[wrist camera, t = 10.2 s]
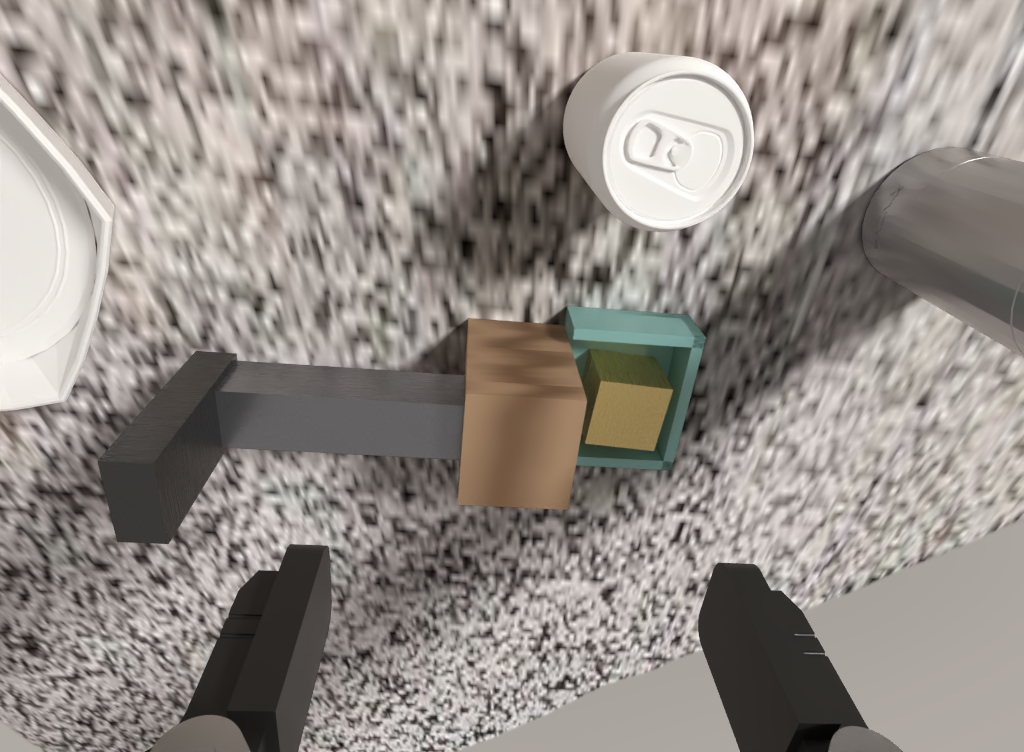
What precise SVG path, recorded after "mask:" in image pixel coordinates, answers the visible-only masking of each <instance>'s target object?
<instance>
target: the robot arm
mask: <svg viewBox="0 0 1024 752" xmlns="http://www.w3.org/2000/svg"><path fill="white" fill-rule="evenodd" d="M862 242H863V248H864V252H865V254H866V256H867V258H868V260H869V262H870V263H871V264H872V266H873V267H874V268H875V269H876V270H877V271H878V272H880V273H882V274H883V275H885V276H886V277H888V278H890V279H891V280H893V281H895V282H896V283H898V284H900V285H902V286H903V287H905V288H907V289H908V290H910V291H912V292H913V293H915V294H916V295H918V296H920V297H921V298H923V299H925V300H926V301H928V302H930V303H932V304H933V305H935V306H937V307H938V308H940V309H942V310H944V311H945V312H947V313H949V314H950V315H952V316H954V317H955V318H957V319H959V320H961V321H962V322H964V323H966V324H967V325H969V326H971V327H973V328H974V329H976V330H978V331H979V332H981V333H983V334H984V335H986V336H988V337H990V338H991V339H993V340H995V341H996V342H998V343H1000V344H1002V345H1003V346H1005V347H1007V348H1008V349H1010V350H1012V351H1014V352H1015V353H1017V354H1019V355H1020V356H1022V357H1024V162H1020V161H1015V160H1011V159H1008V158H1004V157H999V156H995V155H990V154H986V153H982V152H977V151H973V150H969V149H964V148H955V147H947V148H938V149H934V150H931V151H928V152H924V153H921V154H919V155H917V156H916V157H914V158H912V159H910V160H908V161H906V162H905V163H904V164H902V165H901V166H900V167H899V168H897V169H896V170H895V171H893V172H892V173H891V174H890V176H889V177H888V178H887V179H886V180H885V181H884V182H883V183H882V184H881V185H880V187H879V188H878V190H877V191H876V193H875V194H874V196H873V197H872V199H871V202H870V204H869V206H868V208H867V210H866V213H865V217H864V221H863V225H862ZM331 604H332V598H331V576H330V554H329V547H328V546H320V545H295V544H290V545H289V546H288V548H287V550H286V553H285V556H284V558H283V561H282V564H281V566H280V569H279V571H260V570H259V571H258V572H257V573H256V574H255V575H254V576H253V577H252V578H251V579H250V580H249V581H248V582H247V583H246V584H245V585H244V586H243V587H242V588H241V589H240V590H239V591H238V593H237V596H236V598H235V600H234V603H233V605H232V607H231V610H230V612H229V617H228V618H227V619H226V621H225V624H224V626H223V628H222V630H221V633H220V638H218V640H217V642H216V644H215V647H214V649H213V651H212V654H211V656H210V658H209V661H208V663H207V665H206V667H205V670H204V672H203V674H202V677H201V679H200V681H199V684H198V686H197V688H196V691H195V693H194V695H193V698H192V700H191V702H190V704H189V707H188V709H187V711H186V713H185V715H184V717H183V718H182V720H181V721H180V723H179V724H178V725H176V726H175V727H173V728H172V729H170V730H169V731H168V732H166V733H165V734H164V735H163V736H162V737H161V738H160V739H159V740H158V741H157V742H156V744H155V745H154V746H153V747H152V748H150V749H149V750H147V751H145V752H298V749H299V745H300V741H301V737H302V733H303V729H304V725H305V721H306V717H307V713H308V709H309V706H310V702H311V698H312V694H313V690H314V686H315V682H316V678H317V674H318V670H319V666H320V662H321V658H322V654H323V650H324V646H325V642H326V638H327V634H328V630H329V624H330V617H331ZM698 631H699V638H700V643H701V646H702V649H703V651H704V654H705V657H706V660H707V662H708V665H709V668H710V670H711V673H712V676H713V678H714V681H715V684H716V686H717V689H718V692H719V695H720V698H721V700H722V703H723V706H724V708H725V711H726V714H727V717H728V719H729V722H730V725H731V728H732V730H733V733H734V736H735V738H736V741H737V744H738V747H739V749H740V752H903V751H902V750H901V749H900V748H899V747H897V746H896V745H895V744H894V743H893V742H891V741H890V740H889V739H887V738H886V737H884V736H882V735H881V734H879V733H877V732H875V731H873V730H870V729H869V728H868V727H867V725H866V724H865V722H864V720H863V718H862V717H861V715H860V713H859V711H858V709H857V708H856V706H855V704H854V702H853V701H852V699H851V697H850V695H849V694H848V692H847V690H846V688H845V686H844V685H843V683H842V681H841V679H840V678H839V676H838V674H837V672H836V671H835V669H834V667H833V665H832V663H831V662H830V660H829V658H828V657H827V656H825V651H824V649H823V647H822V646H821V644H820V642H819V640H818V639H817V638H815V636H814V632H813V630H812V628H811V626H810V625H809V623H808V621H807V619H806V617H805V616H804V614H803V612H802V611H801V610H800V609H799V608H798V607H797V606H796V605H795V604H794V603H793V602H792V601H791V600H790V599H789V598H788V597H787V596H786V595H785V594H784V593H783V592H782V591H772V590H770V588H769V586H768V584H767V582H766V580H765V578H764V577H763V575H762V573H761V571H760V569H759V568H758V567H757V566H756V565H754V564H738V563H718V564H717V565H716V566H715V568H714V570H713V573H712V576H711V579H710V582H709V585H708V589H707V592H706V595H705V598H704V601H703V604H702V607H701V610H700V614H699V620H698Z"/></svg>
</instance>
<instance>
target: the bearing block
mask: <svg viewBox="0 0 1024 752" xmlns="http://www.w3.org/2000/svg"><path fill="white" fill-rule="evenodd" d="M464 375H466V377H465V405H464V418H463V432H462V446H461V459H460V461H459V485H458V505H474V506H495V507H517V508H539V509H560V510H568V508H569V502H570V496H571V491H572V485H573V479H574V474H575V468H576V462H577V456H578V451H579V445H580V439H581V434H582V428H583V422H584V417H585V411H586V405H587V398H586V395H585V392H584V389H583V385H582V382H581V379H580V375H579V372H578V369H577V365H576V362H575V359H574V355H573V352H572V349H571V346H570V342H569V339H568V336H567V332H566V329H565V326H564V325H554V324H540V323H526V322H512V321H498V320H484V319H470V318H468V329H467V343H466V357H465V371H464Z"/></svg>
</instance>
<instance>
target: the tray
mask: <svg viewBox="0 0 1024 752" xmlns="http://www.w3.org/2000/svg"><path fill="white" fill-rule="evenodd" d="M564 326H565V329H566V332H567V336H568V339H569V342H570V346H571V349H572V352H573V355H574V359H575V362H576V365H577V369H578V372H579V375H580V379H581V381H582V377H583V373H584V368H585V364H586V360H587V356H588V352H589V348H590V349H598V350H606V351H613V352H621V353H629V354H637V355H644V356H652V357H655V358H656V359H657V361H658V363H659V365H660V367H661V368H662V370H663V372H664V374H665V376H666V377H667V379H668V381H669V383H670V385H671V386H672V388H673V392H672V395H671V399H670V402H669V405H668V408H667V411H666V414H665V418H664V421H663V424H662V427H661V430H660V433H659V437H658V440H657V443H656V446H655V449H654V451H648V450H639V449H630V448H621V447H612V446H603V445H594V444H585V442H584V438H583V434H581V439H580V445H579V451H578V456H577V462H576V466H595V467H614V468H633V469H652V470H672V467H673V463H674V459H675V455H676V451H677V448H678V444H679V440H680V436H681V432H682V428H683V424H684V421H685V417H686V413H687V409H688V405H689V401H690V398H691V394H692V390H693V386H694V382H695V378H696V375H697V371H698V367H699V363H700V359H701V355H702V351H703V348H704V344H705V340H706V337H705V336H704V334H703V333H702V332H701V331H700V329H699V328H698V327H697V325H696V324H695V323H694V321H693V320H692V319H691V317H690V316H689V315H680V314H667V313H653V312H640V311H627V310H613V309H600V308H586V307H573V306H567V311H566V318H565V324H564Z"/></svg>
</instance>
